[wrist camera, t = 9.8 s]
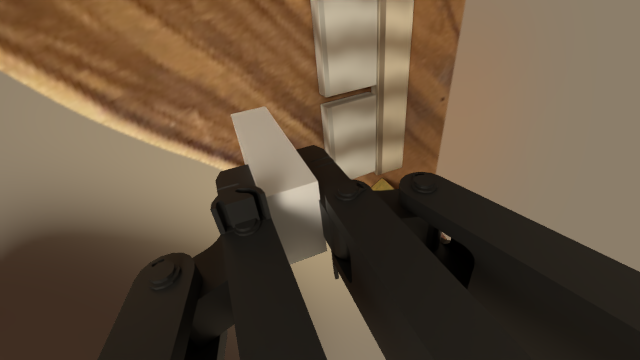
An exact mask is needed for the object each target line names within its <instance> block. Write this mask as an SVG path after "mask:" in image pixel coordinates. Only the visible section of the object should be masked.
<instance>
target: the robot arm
mask: <svg viewBox="0 0 640 360" xmlns="http://www.w3.org/2000/svg"><path fill="white" fill-rule="evenodd" d="M231 116H232V120H233V123H234V127H235V130H236V134H237V137H238V141H239V144H240V148H241V151H242V155H243V158H244V162H245V165H243V166H239V167H235V168H232V169H228V170H224V171H221V172H220V173H219V175H218V177H217V179H216V186H217V192H218V196H217V197H216V198H215V200H214V201H213V202H212V204H211V209H210V210H211V212H212V215H213V217H214V219H215V222H216V224H217V227H218V229H219V232H220V234H221V235H220V237H219V238H218V239H217V241H216V242H215V243H214V244H213V245H212V246H210V247H209V248H208V249H206V250H205V251H203V252H201V253H200V254H198V255H196V256H195V257H193V258H191V256H190V255H187V254H185V253H171V254H168V255H165V256H161V257H159V258H157V259H156V260H154V261H152V262H150V263H149V264H148V265H147V266H146V267H145V268H144V269H142V270H141V271H140V273H139V274H138V275H137V277H136V279H135V280H134V282H133V284H132V286H131V288H130V291H129V293H128V295H127V297H126V299H125V301H124V303H123V306H122V308H121V310H120V312H119V314H118V317H117V319H116V321H115V323H114V325H113V327H112V329H111V332H110V334H109V336H108V338H107V340H106V343H105V345H104V347H103V349H102V351H101V353H100V356H99V358H98V360H224V356H225V348H226V340H227V329H228V328H230V327H231V326H232V325H234V324H235V330H236V337H237V343H238V350H239V356H240V360H327V358H326V356H325V353H324V351H323V348H322V346H321V343H320V340H319V338H318V336H317V333H316V330H315V328H314V325H313V323H312V320H311V318H310V315H309V312H308V310H307V307H306V305H305V302H304V300H303V297H302V295H301V292H300V289H299V287H298V284H297V282H296V279H295V277H294V274H293V272H292V269H291V266H290V264H293V263H296V262H298V261H301V260H304V259H306V258H309V257H312V256H315V255H317V254H320V253H323V252H325V251H327V248H326V241H327V243H328V245H329V246H330V248H331V252H332V260H333V269H334V275H335V279H338V278H339V275H338V272H339V274H340V276H341V278H342V280H343V281H344V283H345V285H346V287H347V289H348V290H349V292H350V294H351V296H352V298H353V300H354V302H355V303H356V305H357V307H358V309H359V311H360V313H361V314H362V316H363V318H364V320H365V322H366V324H367V325H368V327H369V329H370V331H371V333H372V335H373V336H374V338H375V340H376V342H377V344H378V346H379V348H380V349H381V351H382V353H383V355H384V357H385V359H386V360H640V272H639V271H636V270H635V269H632V268H630V267H628V266H626V265H624V264H622V263H620V262H618V261H616V260H614V259H611V258H609V257H607V256H605V255H603V254H601V253H599V252H597V251H595V250H593V249H591V248H589V247H587V246H584V245H582V244H580V243H578V242H576V241H574V240H572V239H570V238H568V237H566V236H563V235H561V234H559V233H557V232H555V231H553V230H551V229H549V228H547V227H545V226H543V225H540V224H538V223H536V222H534V221H532V220H530V219H528V218H526V217H524V216H522V215H520V214H517V213H516V212H513V211H512V210H509V209H507V208H505V207H503V206H501V205H499V204H497V203H495V202H493V201H491V200H489V199H487V198H484V197H482V196H480V195H478V194H476V193H474V192H472V191H470V190H468V189H466V188H464V187H461V186H459V185H457V184H455V183H453V182H451V181H449V180H447V179H445V178H443V177H441V176H438V175H435V174H432V173H426V172H416V173H411V174H408V175H405V176H404V177H403V178H402V179H401V180H400V184H399V189H391V190H372V188H371V187H370V186H368V185H367V184H366V183H364V182H362V181H358V180H351V179H350V178H349V177H348V176H347V175H346V174H345V173H344V171H343V170H342V169H341V168H340V167H339V166H338V165H337V164H336V162H334V160H333V159H332V158H331V157H330V156H329V154H328V153H327V152H326V151H325V150H324V149H322V148H320V147H317V146H315V145H312V146H308V147H305V148H301V149H297V150H296V149H295V148H294V147H293V145H292V144H291V142H290V141H289V139H288V138H287V137H286V135H285V134H284V132H283V131H282V130H281V128H280V127H279V125H278V124H277V122H276V121H275V120H274V118H273V117H272V115H271V114H270V113H269V111H268V110H267V108H266V107H261V108H256V109H252V110H248V111H243V112H239V113H235V114H231ZM442 232H443V233H445V234H446V235H448V236H449V237H451V240H446V239H444V238H442V237H441V235H442ZM325 239H326V240H325Z"/></svg>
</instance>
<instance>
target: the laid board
mask: <svg viewBox="0 0 640 360" xmlns="http://www.w3.org/2000/svg"><path fill="white" fill-rule="evenodd" d="M413 7H414V0H377V79H376V85H373V86H371V93H373V94H375V95H376V162H375V171H373V172H374V173H375V174H376V175H380V174H382V173H386V172H389V171H392V170H395V169H399V168H402V161H403V147H404V133H405V119H406V105H407V91H408V77H409V63H410V49H411V35H412V21H413Z"/></svg>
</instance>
